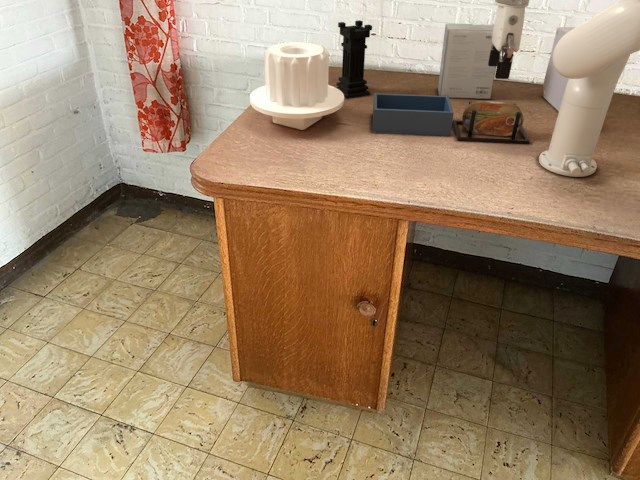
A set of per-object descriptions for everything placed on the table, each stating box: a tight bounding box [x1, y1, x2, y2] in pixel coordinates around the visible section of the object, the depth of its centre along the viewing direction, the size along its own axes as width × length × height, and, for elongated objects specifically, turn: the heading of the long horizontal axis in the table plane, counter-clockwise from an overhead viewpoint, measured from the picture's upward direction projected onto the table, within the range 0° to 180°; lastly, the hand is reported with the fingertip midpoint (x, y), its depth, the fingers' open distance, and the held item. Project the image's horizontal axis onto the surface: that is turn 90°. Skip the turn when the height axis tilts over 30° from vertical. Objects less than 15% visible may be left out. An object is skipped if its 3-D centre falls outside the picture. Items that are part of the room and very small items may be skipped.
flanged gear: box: [249, 41, 345, 131], centre depth 142 cm, size 25×25×19 cm
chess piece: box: [334, 19, 373, 99], centre depth 161 cm, size 8×8×20 cm
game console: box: [542, 26, 577, 112], centre depth 150 cm, size 6×27×20 cm, turn 2°
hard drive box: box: [437, 23, 497, 100], centre depth 160 cm, size 16×8×20 cm, turn 84°
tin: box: [461, 100, 524, 137], centre depth 140 cm, size 15×3×8 cm, turn 76°
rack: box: [452, 101, 530, 145], centre depth 140 cm, size 12×18×7 cm, turn 85°
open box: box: [371, 92, 454, 137], centre depth 144 cm, size 12×20×6 cm, turn 85°
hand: (497, 72), depth 134 cm, fingers open, 9 cm apart
